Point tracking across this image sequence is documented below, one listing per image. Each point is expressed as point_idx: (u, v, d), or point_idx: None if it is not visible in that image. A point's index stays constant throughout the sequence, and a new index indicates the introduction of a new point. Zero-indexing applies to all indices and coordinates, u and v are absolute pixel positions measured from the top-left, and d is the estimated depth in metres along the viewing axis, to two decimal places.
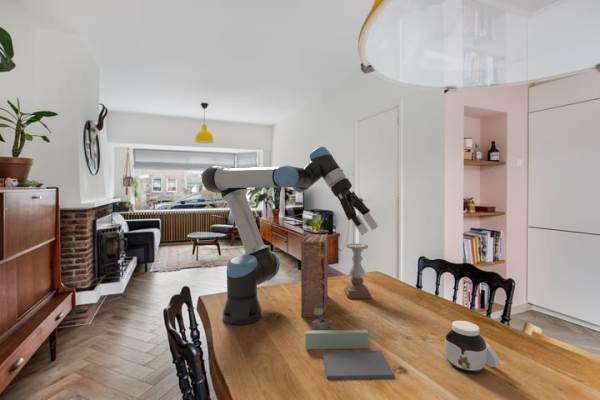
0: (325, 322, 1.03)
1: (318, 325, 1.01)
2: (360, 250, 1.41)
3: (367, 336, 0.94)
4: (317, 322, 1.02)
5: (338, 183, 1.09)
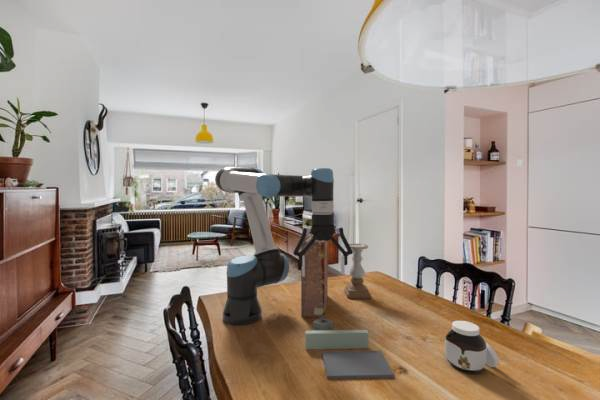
0: (326, 322, 1.02)
1: (319, 325, 1.01)
2: (360, 250, 1.41)
3: (367, 336, 0.94)
4: (318, 322, 1.02)
5: (312, 216, 1.01)
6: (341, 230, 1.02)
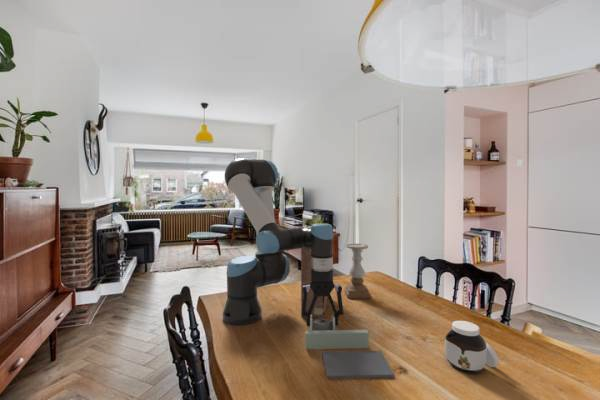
0: (325, 322, 1.02)
1: (318, 325, 1.00)
2: (360, 250, 1.41)
3: (367, 336, 0.94)
4: (317, 322, 1.02)
5: (311, 272, 1.01)
6: (340, 289, 1.02)
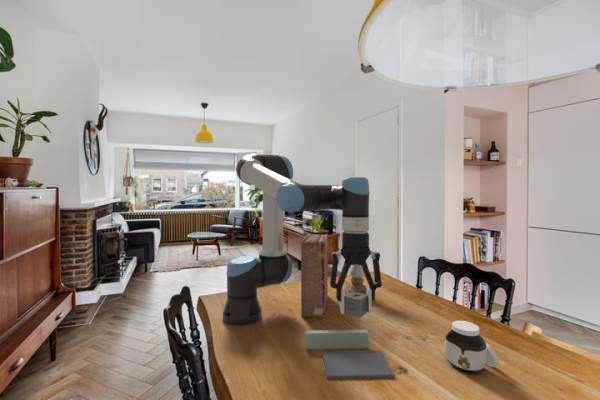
0: (360, 296, 0.84)
1: (352, 300, 0.83)
2: None
3: (367, 336, 0.94)
4: (350, 296, 0.84)
5: (343, 235, 0.84)
6: (377, 256, 0.84)
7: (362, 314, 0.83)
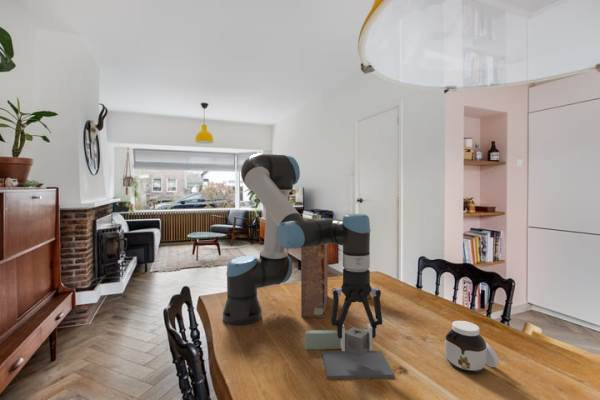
0: (360, 333, 0.84)
1: (353, 338, 0.83)
2: None
3: None
4: (351, 334, 0.84)
5: (344, 273, 0.84)
6: (378, 293, 0.84)
7: (363, 352, 0.83)
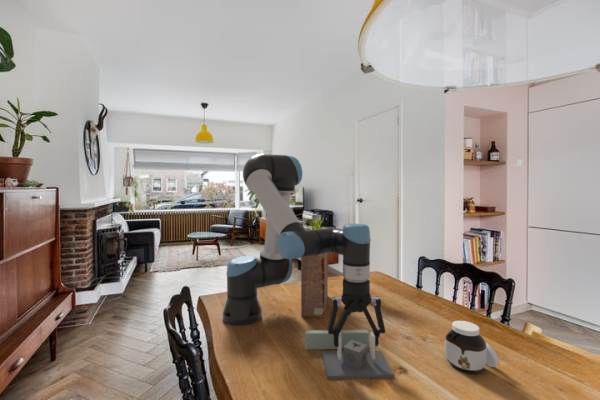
0: (359, 346, 0.84)
1: (352, 351, 0.83)
2: None
3: (367, 336, 0.94)
4: (350, 347, 0.84)
5: (344, 283, 0.84)
6: (378, 302, 0.84)
7: (362, 366, 0.83)
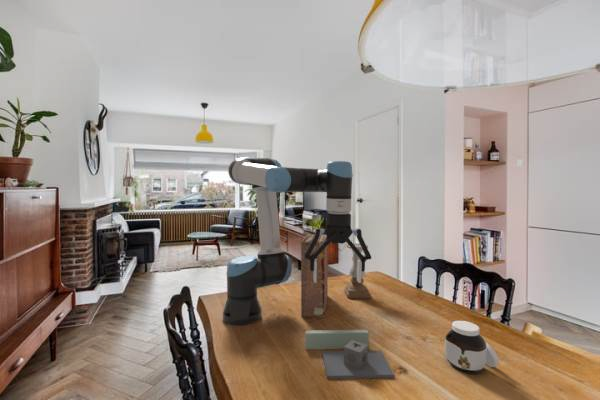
0: (360, 346, 0.84)
1: (352, 351, 0.83)
2: (360, 250, 1.41)
3: (367, 336, 0.94)
4: (350, 347, 0.84)
5: (327, 216, 0.90)
6: (359, 232, 0.90)
7: (362, 366, 0.83)
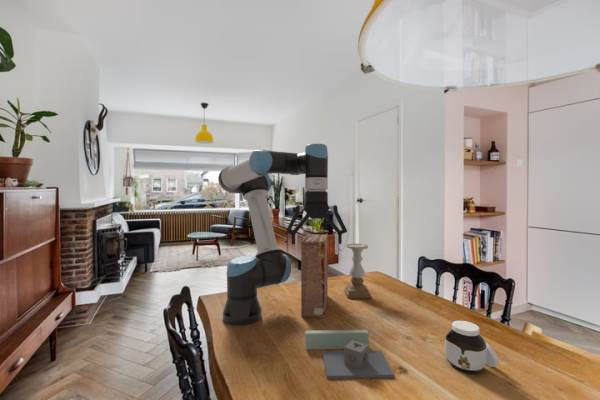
0: (360, 346, 0.84)
1: (353, 351, 0.83)
2: (360, 250, 1.41)
3: (367, 336, 0.94)
4: (351, 347, 0.84)
5: (305, 193, 0.99)
6: (335, 208, 0.99)
7: (363, 366, 0.83)
